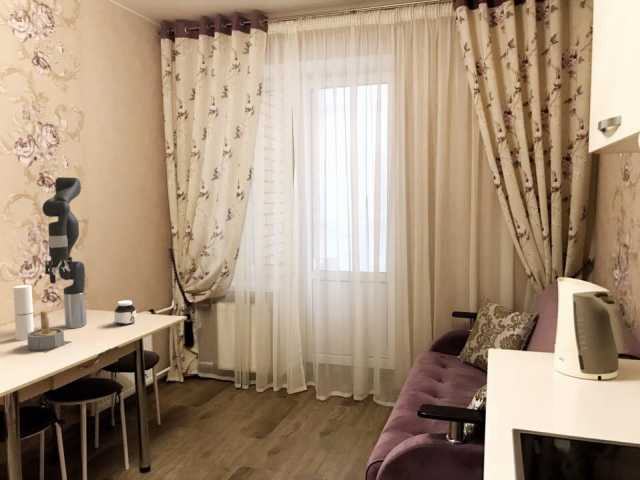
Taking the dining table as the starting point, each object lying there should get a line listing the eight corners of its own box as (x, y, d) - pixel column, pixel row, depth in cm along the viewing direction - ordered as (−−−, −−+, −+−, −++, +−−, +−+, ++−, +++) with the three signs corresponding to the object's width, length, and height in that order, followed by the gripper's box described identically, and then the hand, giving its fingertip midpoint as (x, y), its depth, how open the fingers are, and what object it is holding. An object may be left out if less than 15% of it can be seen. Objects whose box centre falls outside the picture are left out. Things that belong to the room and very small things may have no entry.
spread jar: (122, 327, 252) (121, 304, 251) (108, 324, 258) (107, 302, 257) (141, 321, 262) (141, 300, 261) (127, 319, 268) (127, 297, 267)
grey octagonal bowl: (44, 340, 226) (43, 327, 226) (70, 342, 223) (69, 329, 223) (20, 349, 213) (19, 335, 212) (47, 351, 210) (47, 337, 209)
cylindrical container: (26, 342, 225) (23, 288, 223) (12, 341, 227) (9, 287, 225) (37, 338, 232) (35, 285, 230) (24, 337, 234) (21, 284, 232)
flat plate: (45, 341, 227) (45, 339, 227) (72, 343, 224) (72, 341, 224) (18, 352, 212) (17, 350, 212) (46, 354, 209) (46, 352, 209)
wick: (45, 342, 220) (44, 311, 219) (51, 342, 219) (50, 311, 218) (40, 344, 217) (38, 312, 216) (46, 344, 216) (44, 313, 215)
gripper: (62, 243, 229) (64, 278, 231) (38, 247, 215) (40, 284, 217) (76, 244, 228) (78, 279, 229) (53, 247, 214) (55, 284, 215)
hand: (60, 281), depth 223 cm, fingers open, 8 cm apart
